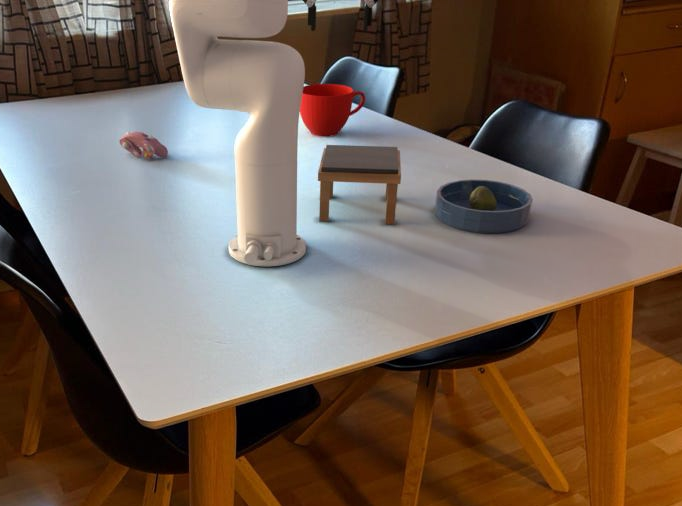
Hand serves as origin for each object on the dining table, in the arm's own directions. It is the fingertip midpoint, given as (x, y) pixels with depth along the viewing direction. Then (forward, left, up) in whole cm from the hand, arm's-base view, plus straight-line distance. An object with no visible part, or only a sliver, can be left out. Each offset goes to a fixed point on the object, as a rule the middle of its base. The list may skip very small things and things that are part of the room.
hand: (339, 30), depth 134 cm
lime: (-20, -28, -27) cm, 44 cm away
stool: (-19, -6, -27) cm, 34 cm away
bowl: (-20, -28, -27) cm, 44 cm away
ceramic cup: (+31, +2, -28) cm, 42 cm away
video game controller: (+7, +42, -28) cm, 51 cm away
